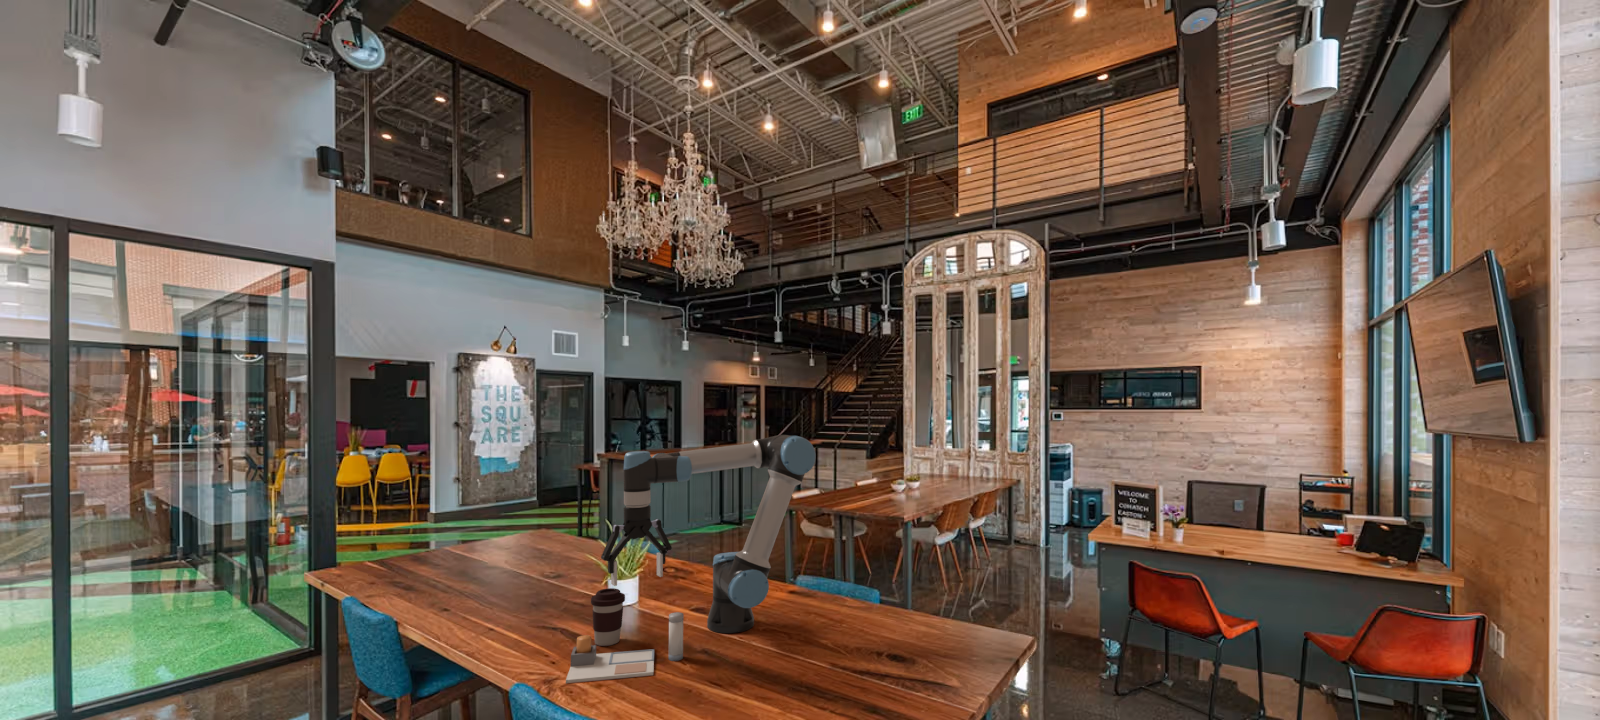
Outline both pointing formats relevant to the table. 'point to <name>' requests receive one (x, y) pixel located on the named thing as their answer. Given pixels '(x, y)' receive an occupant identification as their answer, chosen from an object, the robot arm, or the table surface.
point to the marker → (676, 636)
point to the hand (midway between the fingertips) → (637, 580)
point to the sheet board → (609, 665)
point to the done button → (584, 644)
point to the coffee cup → (607, 616)
